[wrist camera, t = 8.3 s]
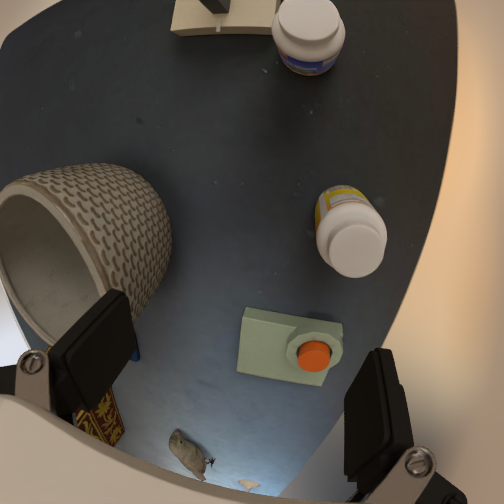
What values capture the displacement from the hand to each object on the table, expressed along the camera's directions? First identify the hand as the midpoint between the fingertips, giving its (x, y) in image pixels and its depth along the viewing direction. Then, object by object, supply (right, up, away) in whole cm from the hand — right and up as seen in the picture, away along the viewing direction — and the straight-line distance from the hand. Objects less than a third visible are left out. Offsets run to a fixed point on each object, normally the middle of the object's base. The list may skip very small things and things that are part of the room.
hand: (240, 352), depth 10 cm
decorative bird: (-13, -43, +46) cm, 64 cm away
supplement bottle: (+9, +8, +18) cm, 21 cm away
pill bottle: (+6, +22, +12) cm, 26 cm away
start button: (+8, -8, +21) cm, 24 cm away
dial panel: (-2, +29, +10) cm, 30 cm away
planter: (-14, +8, +23) cm, 28 cm away
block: (+5, -8, +26) cm, 28 cm away
